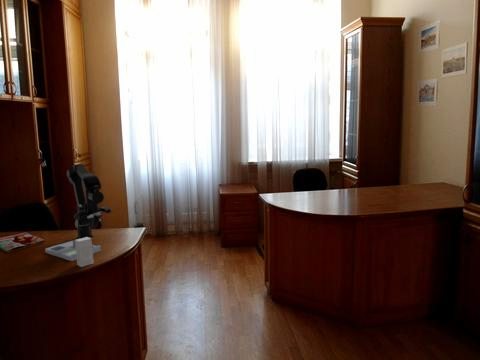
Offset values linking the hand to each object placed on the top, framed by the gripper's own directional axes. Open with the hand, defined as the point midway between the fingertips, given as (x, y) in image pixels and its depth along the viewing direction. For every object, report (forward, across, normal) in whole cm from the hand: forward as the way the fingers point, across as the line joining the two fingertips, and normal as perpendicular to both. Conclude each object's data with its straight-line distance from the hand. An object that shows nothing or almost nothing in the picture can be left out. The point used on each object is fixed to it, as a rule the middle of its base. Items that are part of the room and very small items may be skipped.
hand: (94, 229), depth 208 cm
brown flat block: (+6, +8, -1) cm, 11 cm away
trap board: (+8, +13, 0) cm, 15 cm away
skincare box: (+8, +20, +20) cm, 30 cm away
